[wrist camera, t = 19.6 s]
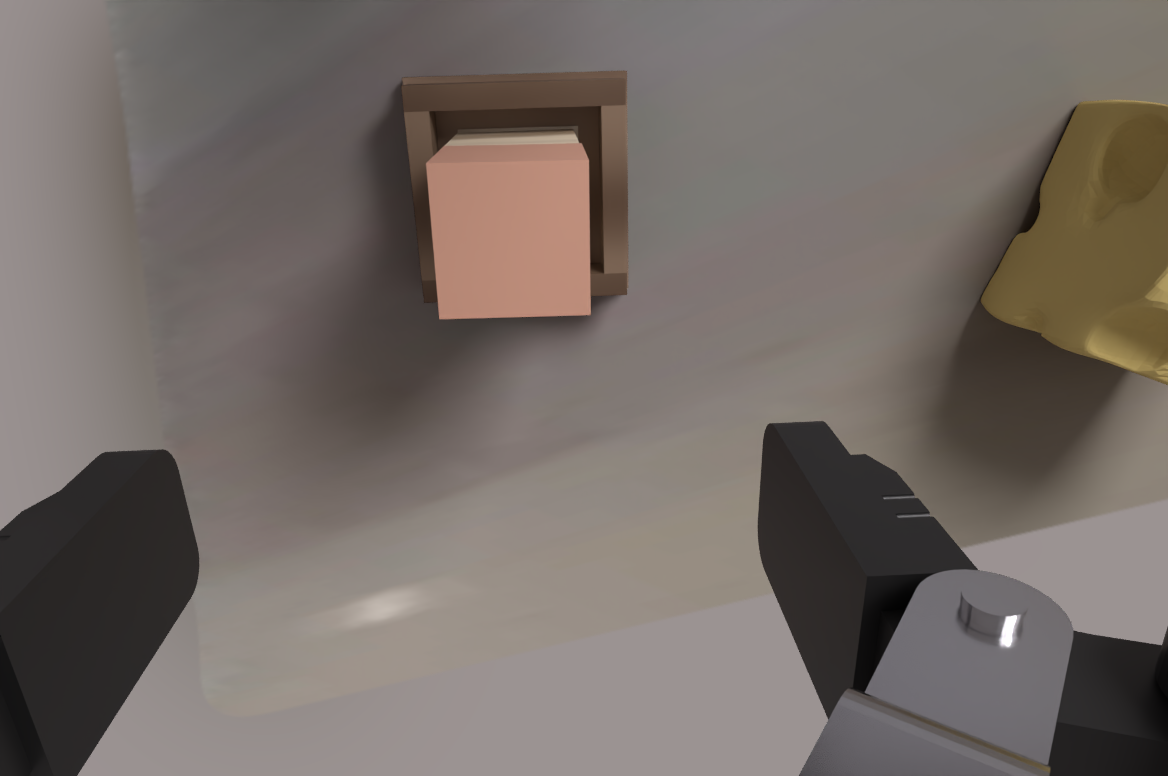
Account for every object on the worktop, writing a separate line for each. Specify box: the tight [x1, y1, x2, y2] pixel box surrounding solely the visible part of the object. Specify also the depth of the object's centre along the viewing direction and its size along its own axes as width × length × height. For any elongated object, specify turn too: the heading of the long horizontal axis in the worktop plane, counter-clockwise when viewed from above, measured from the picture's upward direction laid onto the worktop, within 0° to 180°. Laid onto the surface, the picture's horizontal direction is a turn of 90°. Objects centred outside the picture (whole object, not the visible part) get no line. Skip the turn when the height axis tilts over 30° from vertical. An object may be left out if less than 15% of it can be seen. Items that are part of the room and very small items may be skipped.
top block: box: [426, 143, 591, 319], centre depth 28 cm, size 5×5×5 cm
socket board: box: [401, 71, 628, 303], centre depth 36 cm, size 10×10×3 cm
